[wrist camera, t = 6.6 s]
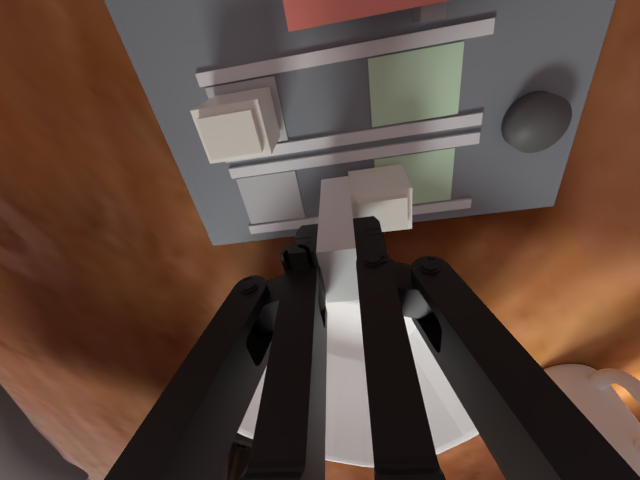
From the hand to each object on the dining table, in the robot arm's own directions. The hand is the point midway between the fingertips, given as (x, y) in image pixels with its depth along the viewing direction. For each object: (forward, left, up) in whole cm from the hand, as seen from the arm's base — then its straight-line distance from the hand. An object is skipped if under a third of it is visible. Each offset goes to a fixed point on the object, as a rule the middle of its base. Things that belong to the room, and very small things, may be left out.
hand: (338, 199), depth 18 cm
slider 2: (+2, 0, -1) cm, 3 cm away
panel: (+2, +5, -5) cm, 7 cm away
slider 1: (-4, +5, -1) cm, 7 cm away
